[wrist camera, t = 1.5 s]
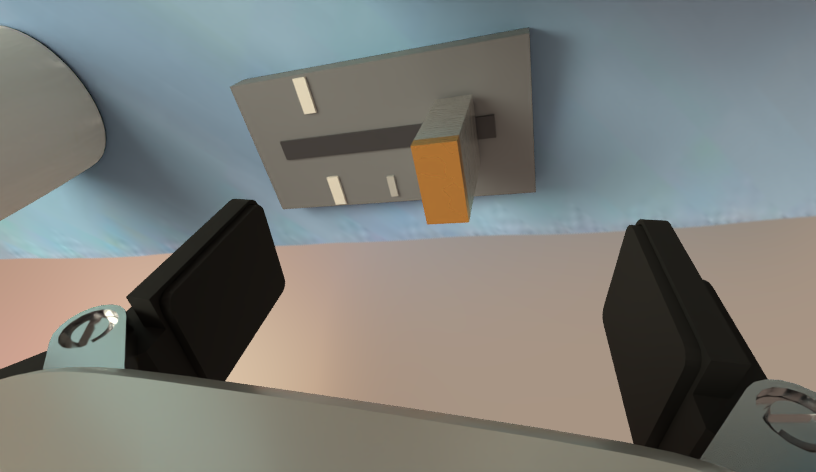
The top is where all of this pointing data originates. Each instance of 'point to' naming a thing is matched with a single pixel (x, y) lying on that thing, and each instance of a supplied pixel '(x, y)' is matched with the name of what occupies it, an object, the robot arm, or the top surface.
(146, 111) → the top surface
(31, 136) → the utensil holder
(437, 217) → the fader tab
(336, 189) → the console board
